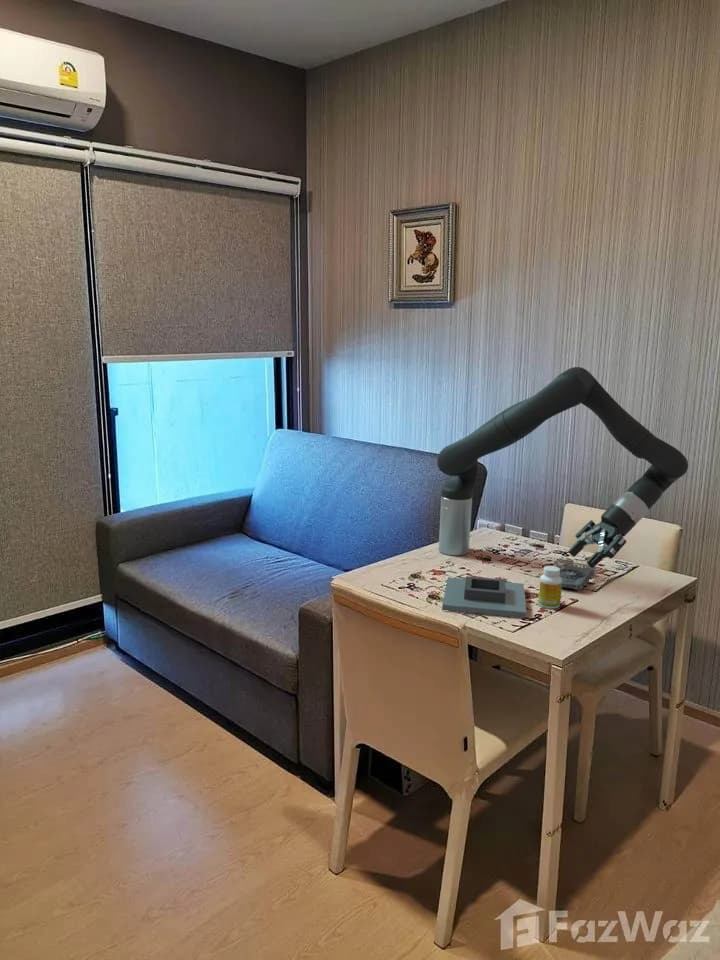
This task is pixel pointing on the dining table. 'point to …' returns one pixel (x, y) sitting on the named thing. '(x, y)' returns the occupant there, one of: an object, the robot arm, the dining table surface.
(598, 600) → the dining table surface
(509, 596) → the socket board
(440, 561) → the dining table surface
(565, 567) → the graphics card
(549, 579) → the supplement bottle
